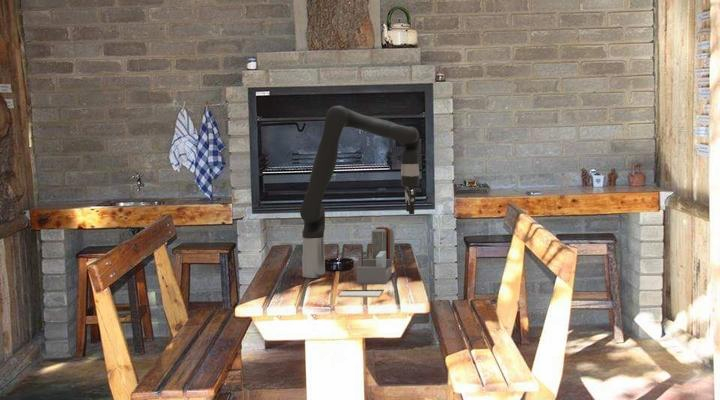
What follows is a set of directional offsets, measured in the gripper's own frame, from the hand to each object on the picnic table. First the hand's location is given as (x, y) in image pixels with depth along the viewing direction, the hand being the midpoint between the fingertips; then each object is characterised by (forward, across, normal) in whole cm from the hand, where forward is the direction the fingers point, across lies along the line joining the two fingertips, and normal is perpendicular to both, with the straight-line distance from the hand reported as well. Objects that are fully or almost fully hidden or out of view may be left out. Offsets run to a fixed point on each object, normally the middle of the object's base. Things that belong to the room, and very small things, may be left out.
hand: (410, 212), depth 378 cm
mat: (+28, +26, -23) cm, 45 cm away
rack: (+28, +6, -16) cm, 33 cm away
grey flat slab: (+28, +7, -13) cm, 32 cm away
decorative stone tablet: (+28, -22, -9) cm, 37 cm away
